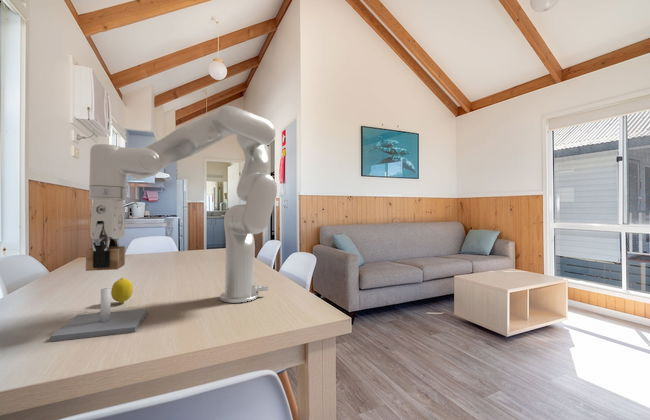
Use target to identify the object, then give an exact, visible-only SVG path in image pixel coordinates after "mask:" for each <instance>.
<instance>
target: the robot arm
mask: <svg viewBox="0 0 650 420" xmlns="http://www.w3.org/2000/svg"><path fill="white" fill-rule="evenodd" d="M274 126H275V125H273V124H272V122H271V121H270V120H269V119H267V118H265V117H263V116H260V115H258V114H254V113H253V112H250V111H247V110H244V109H242V108H240V107H237V106H232V105H224V106H221V107H219V108H217V109H216V110H214V111H212V112H210V113H208V114H206V115H204V116H202V117H200V118H198V119H196V120H193V121H191V122H189V123H187V124H183V126H181V127H178V128H176V129H175V130H173V131H171V132H170V133H168V134H167V135H166V136H165V137H162V138H161V139H159V140H157V141H154V142H153V143H151V144H149V145H147V146H145V147H122V146H118V145H113V144H105V143H97V144H94V145H92V146H91V147H90V152H89V186H88V187H89V188H88V189H89V190H88V191H89V192H88V199H89V200H92V204H91V212H90V227H89V229H90V230H89V232H90V238H91V239H92V241H93V247H92V248H93V268H107V267H109V266H110V251H108V249H109V247H113V246H120V245H119V243H120V242H119V240H120V239H121V238H123V237H124V236H125V232H126V231H125V208H124V202H125V201H127V175H128V176H129V177H131V178H134V179H137V180H138V179H139V180H141V179H142V180H143V179H146V178H149V177H153V176H155V175H157V174H159V173H160V171H161V170H162V169H164V168H166V167H168V166H170V165H172V164H174V163H176V162H179V161H181V160H184V159H187V158H191V157H192V156H194V155H197V154H198V153H201V152H202V151H204V150H206V149H208V148H210V147H212V146H213V145H215V144H216V143H219V142H221V141H222V140H224V139H226V138H228V137H231V136H233V135H235V136H236V140H237V141H236V142H237V143H238V145H239V147H240V148H241V149H242V151H243V154H244V164H243V166H242V167H243V168H242V171H241V174H240V178H239V179H238V184H237V186H236V195H237V197H238V198H239V199H240V200H241V201H242V202H246V203H245V204H235V205H232V206H230V207H229V208H228V209H227V210H226V212H225V214H224V217H223V226H224V227H223V228H224V234H225V267H224V268H225V269H224V270H225V272H224V274H225V275H224V277H225V278H224V279H225V280H224V292H222V293H221V294H220V295H219V300H220V301H221V302H225V303H230V304H231V303H232V304H237V303H238V304H241V302H242V303H248V302H251V300H252V301H255V300H257V299H258V298H259V292H267V291H268V290H269V286H268V285H267V284H265V285H264V284H256V282H255V260H256V259H255V256H256V255H255V252H256V245H255V244H256V242H255V237H254V235H258V234H260V233H262V232H263V231H265V230H266V228H267V227H268V225H269V222H270V220H271V216H272V213H273V209H274V206H275V202H276V198H277V193H278V186H277V182H276V181H275V179H274V177H272V175H270V174H268V173H269V169H270V158H269V155H268V152H267V151H266V149H265V146H267V145H269V144H271V143H272V142H273V141H274V139H275V137H276V129H275V127H274ZM257 297H258V298H257ZM256 298H257V299H256ZM254 299H255V300H254ZM247 301H248V302H247Z"/></svg>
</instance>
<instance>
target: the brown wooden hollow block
mask: <svg viewBox="0 0 650 420" xmlns="http://www.w3.org/2000/svg"><path fill="white" fill-rule="evenodd" d="M85 250H86V251H85V272H89V271H90V272H92V271H93V272H94V271H110V270H111V271H113V270H119V269H120V268H122V267H124V266H125V264H126V246H125V245H122V246H121V245H119V246H113V247H109V249H108V251H110V266H109V267H107V268H93V247H91V248H88V249H85Z"/></svg>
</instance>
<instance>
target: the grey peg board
mask: <svg viewBox="0 0 650 420" xmlns="http://www.w3.org/2000/svg"><path fill="white" fill-rule="evenodd" d="M111 290H112V287H105V288H104V287H103V288H101V289H100V312H96V313H83V314H77V315H75V316H74V317H73V318H72V319H71V320H70V321H68V322H67V323H66V324H65V325H63V326H62V327H60V328H59V329H58V330H56V331H55V332H54V333H52V334H51V335H50V342H57V341H68V340H76V339H85V338H94V337H103V336H111V335H112V336H113V335H121V334H128V333H136V331H137V330H138V328H139V327H140V325H141V323H142V322H143V320H144V319H145V317H146V315H148V308H140V309H139V308H138V309H128V310H119V311H116V310H115V311H111V297H112V295H111Z"/></svg>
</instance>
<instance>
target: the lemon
mask: <svg viewBox="0 0 650 420" xmlns="http://www.w3.org/2000/svg"><path fill="white" fill-rule="evenodd" d="M133 292H134V288H133V283H132V282H131V281H130V280H129V279H127V278H125V277H120V279H117V280H116V281H115V282H114V283H113V284H112V287H111V297H112V299H113V300H114V301H116V302H118V303H120V304H124V302H126V301H128V300H129V299H130V298H131V297H132V295H133Z"/></svg>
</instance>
